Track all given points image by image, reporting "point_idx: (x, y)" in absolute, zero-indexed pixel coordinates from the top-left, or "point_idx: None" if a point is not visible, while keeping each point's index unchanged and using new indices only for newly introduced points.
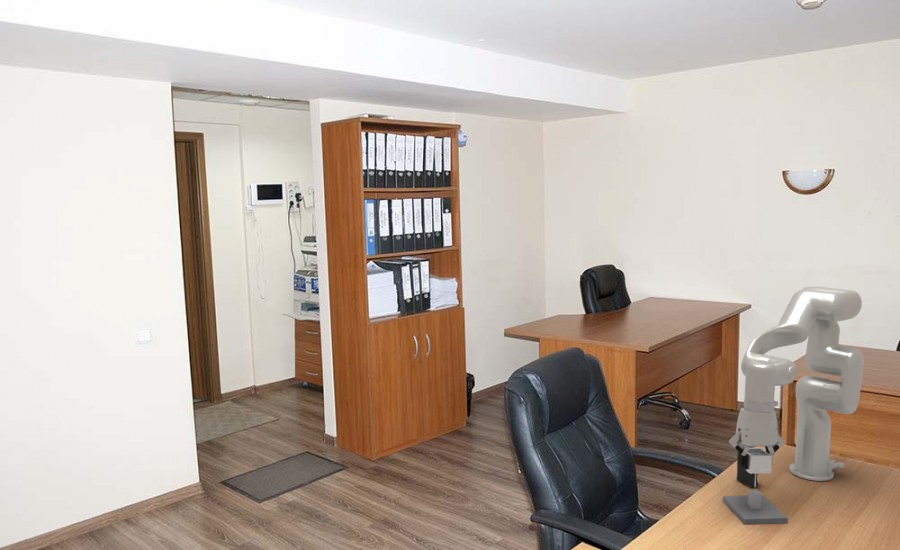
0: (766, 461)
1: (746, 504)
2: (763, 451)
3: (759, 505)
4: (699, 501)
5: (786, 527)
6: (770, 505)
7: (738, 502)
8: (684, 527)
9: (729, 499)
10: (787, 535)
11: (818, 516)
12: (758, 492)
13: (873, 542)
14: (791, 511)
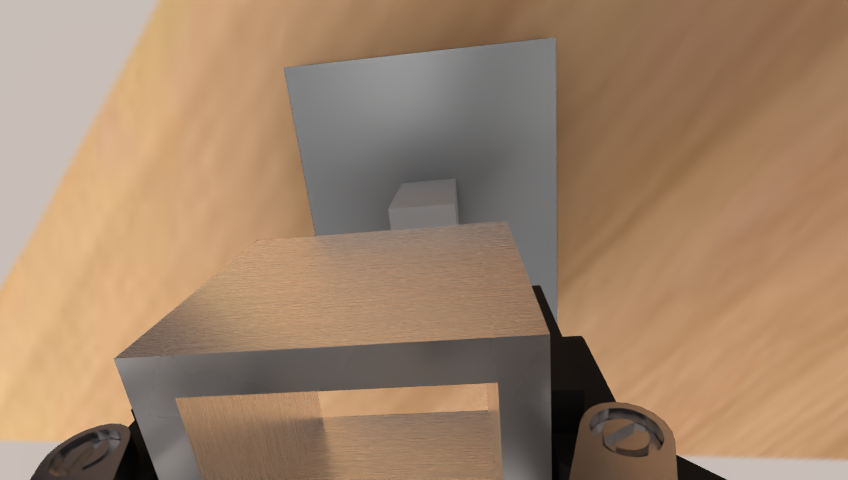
0: None
1: (396, 179)
2: (504, 478)
3: None
4: (161, 78)
5: None
6: (532, 191)
7: (356, 156)
8: (81, 344)
9: (314, 115)
10: None
11: (760, 244)
12: None
13: (836, 459)
14: (644, 190)
